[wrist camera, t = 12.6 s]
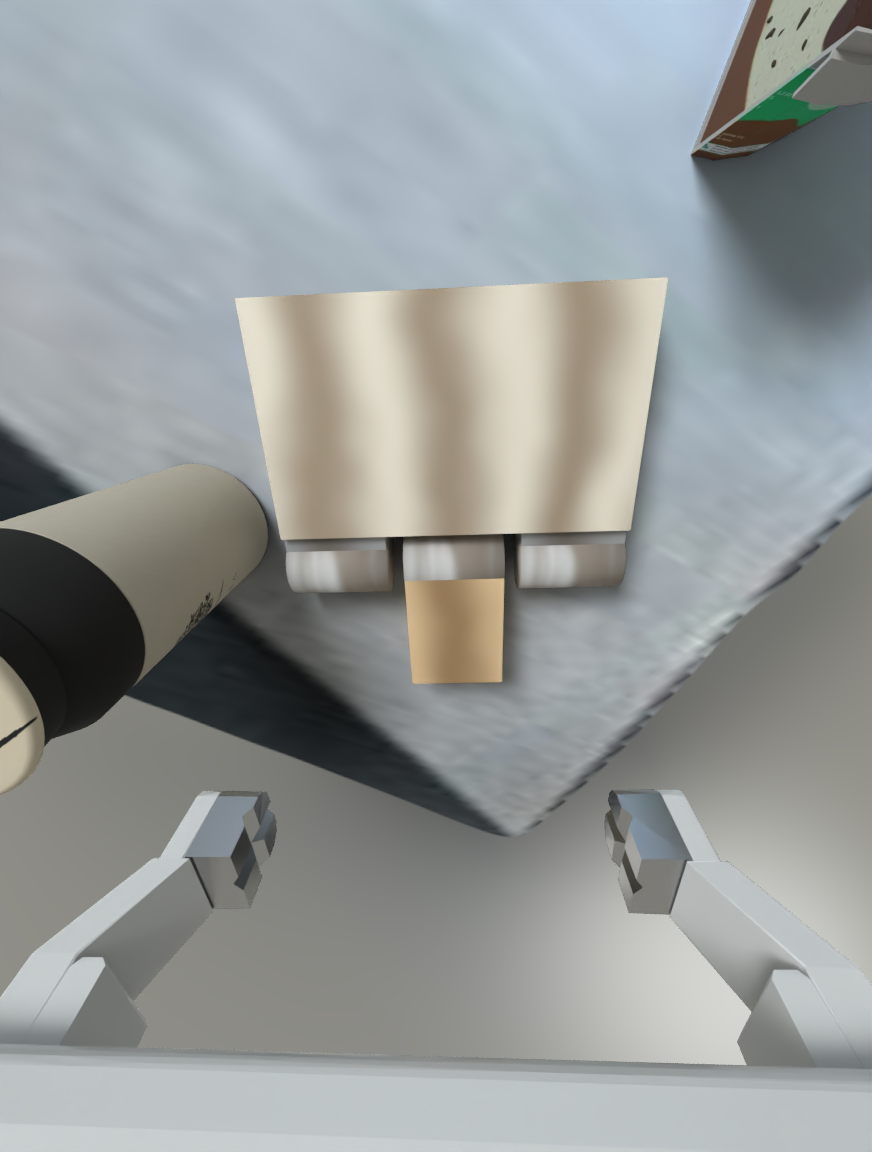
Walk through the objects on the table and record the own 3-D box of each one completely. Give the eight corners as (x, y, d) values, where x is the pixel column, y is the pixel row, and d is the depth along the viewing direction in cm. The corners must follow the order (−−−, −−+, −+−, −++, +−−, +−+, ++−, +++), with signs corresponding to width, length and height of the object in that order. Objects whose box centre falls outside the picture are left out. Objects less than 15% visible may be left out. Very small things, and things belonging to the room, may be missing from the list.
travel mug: (122, 498, 28) (-325, 661, 12) (218, 439, 27) (-148, 534, 10) (202, 596, 31) (-71, 837, 15) (293, 548, 30) (100, 760, 13)
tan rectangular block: (498, 522, 29) (505, 541, 25) (496, 652, 33) (502, 683, 29) (406, 525, 29) (401, 544, 26) (416, 654, 33) (412, 684, 30)
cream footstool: (637, 291, 23) (669, 276, 20) (602, 572, 30) (621, 596, 26) (263, 309, 24) (234, 298, 21) (309, 579, 30) (292, 603, 27)
